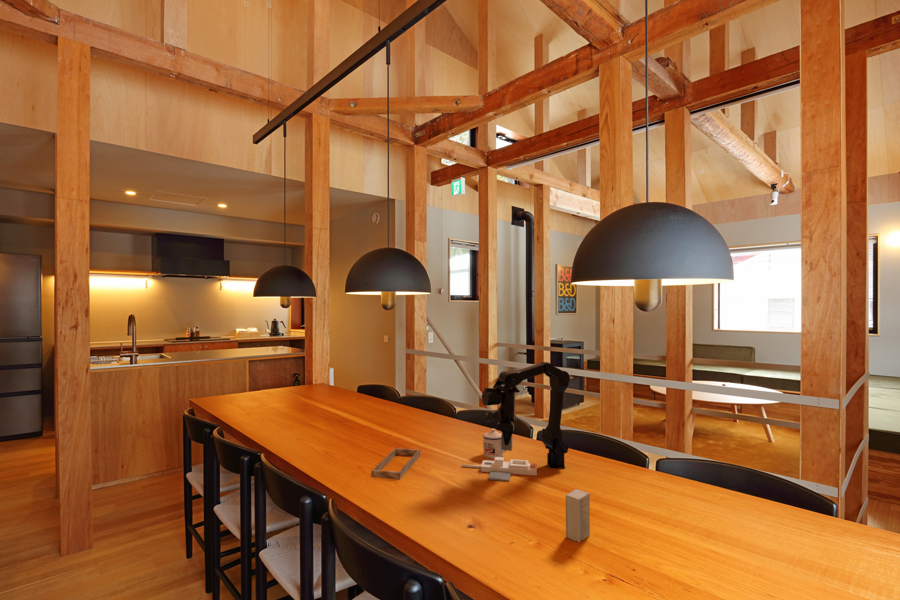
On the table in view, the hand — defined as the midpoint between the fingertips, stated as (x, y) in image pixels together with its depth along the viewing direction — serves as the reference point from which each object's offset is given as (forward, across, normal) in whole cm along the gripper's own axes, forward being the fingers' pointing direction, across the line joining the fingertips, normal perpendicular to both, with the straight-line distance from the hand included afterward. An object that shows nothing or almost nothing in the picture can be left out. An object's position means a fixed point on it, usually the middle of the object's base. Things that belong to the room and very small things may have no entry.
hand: (506, 443), depth 174 cm
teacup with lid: (+12, -21, -6) cm, 25 cm away
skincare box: (+12, +44, +24) cm, 51 cm away
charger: (+2, 0, 0) cm, 2 cm away
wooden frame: (+13, -1, -45) cm, 47 cm away
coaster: (+12, +3, -2) cm, 13 cm away
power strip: (+12, -5, -4) cm, 13 cm away
